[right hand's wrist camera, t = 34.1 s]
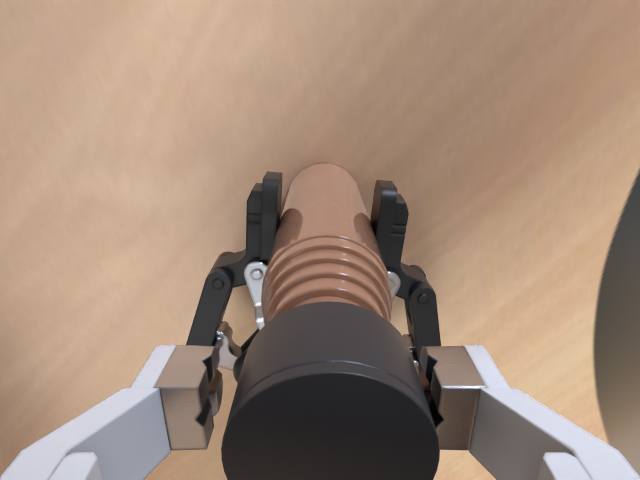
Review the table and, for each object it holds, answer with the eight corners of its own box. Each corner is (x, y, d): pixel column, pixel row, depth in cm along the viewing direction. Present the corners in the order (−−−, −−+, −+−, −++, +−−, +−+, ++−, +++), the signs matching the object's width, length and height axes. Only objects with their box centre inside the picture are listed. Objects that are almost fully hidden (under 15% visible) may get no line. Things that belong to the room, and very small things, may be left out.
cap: (426, 419, 11) (455, 513, 9) (273, 450, 11) (261, 548, 9) (393, 281, 9) (417, 348, 7) (219, 323, 10) (187, 401, 7)
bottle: (366, 223, 26) (448, 486, 9) (298, 239, 27) (259, 517, 10) (351, 155, 25) (418, 321, 8) (279, 172, 25) (193, 367, 8)
